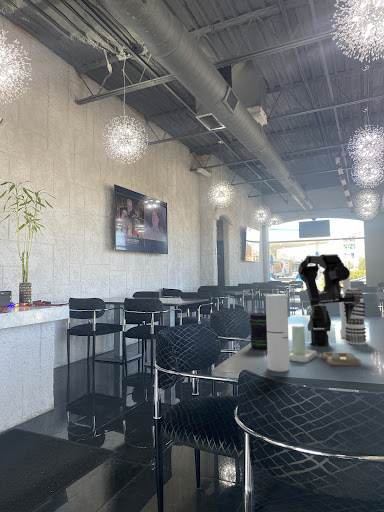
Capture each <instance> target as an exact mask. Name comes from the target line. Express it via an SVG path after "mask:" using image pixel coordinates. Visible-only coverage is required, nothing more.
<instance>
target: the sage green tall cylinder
mask: <svg viewBox="0 0 384 512" xmlns="http://www.w3.org/2000/svg"><path fill="white" fill-rule="evenodd" d="M291 333H292V334H291V335H292V349H293V355H298V356H305V350H306V338H305V337H306V335H305V326H303V325H292V326H291Z"/></svg>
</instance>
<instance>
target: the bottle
mask: <svg viewBox="0 0 384 512" xmlns="http://www.w3.org/2000/svg"><path fill="white" fill-rule="evenodd" d="M351 283H352V282H351V277H349V278H348V279H346V280H343V281H342V288H343V289H342V296H343V298H344V296H345V291H346V290H347V289H352V286H351ZM343 303H344V302H338V304H339V305H338V306H339V315H340V316H339V317H340V324H341V326H340V330H339V331H340V333H339V334H340V337H341V338H342V339H345V340H346V338H347V337H346V334H347V333H346V330H347V329H345V328H346V317H345V314H346V313H345V312H344V311H345V310H346V309H344V307H345V305H344V304H343Z"/></svg>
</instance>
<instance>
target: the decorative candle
mask: <svg viewBox="0 0 384 512" xmlns="http://www.w3.org/2000/svg"><path fill="white" fill-rule="evenodd" d="M363 293H364V291H363V290H362V289H361V288H351V289H347V290H346V291H345V295H358V296H359V298H360V302H357V305H355V306H354V308H353V311H352V313H351V316H350V319H349V322H347V320H346V328H345V329H347V330H346V333H347V334H346V337H347V338H346V339H345V341H346V342H345V343H346V344H349V345H359V346H361V345H366V344H367V342H366V341H367V335H366V333H367V331H366V329H367V328H366V324H365V318H366V314H365V313H366V311H365V310H364V309H366V307H365V305H366V303H364V301H365V300H364V297H363V296H364V294H363ZM344 303H346V302H344ZM344 303H343V304H344ZM344 309H345V307H344ZM344 312H345V313H346V310H345V311H344ZM345 317H346V314H345Z"/></svg>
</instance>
